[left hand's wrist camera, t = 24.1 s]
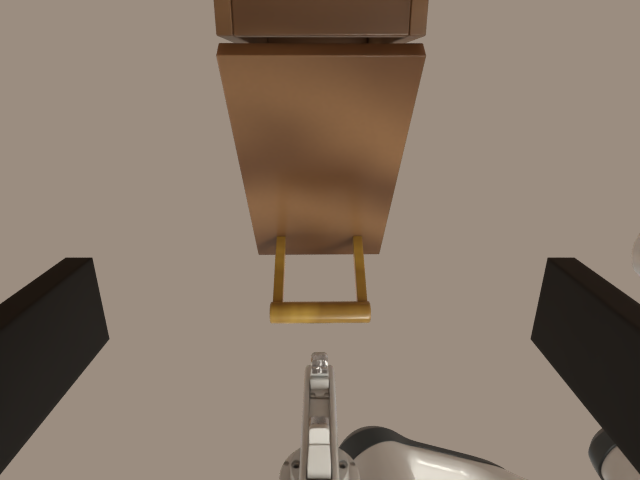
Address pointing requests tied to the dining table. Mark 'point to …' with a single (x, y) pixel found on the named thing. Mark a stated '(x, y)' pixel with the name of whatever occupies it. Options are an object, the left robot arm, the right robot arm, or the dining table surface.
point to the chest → (321, 21)
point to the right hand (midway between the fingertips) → (319, 385)
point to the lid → (320, 151)
